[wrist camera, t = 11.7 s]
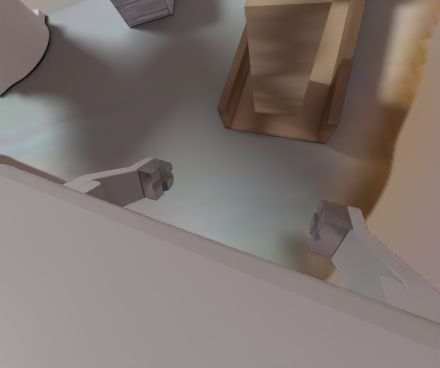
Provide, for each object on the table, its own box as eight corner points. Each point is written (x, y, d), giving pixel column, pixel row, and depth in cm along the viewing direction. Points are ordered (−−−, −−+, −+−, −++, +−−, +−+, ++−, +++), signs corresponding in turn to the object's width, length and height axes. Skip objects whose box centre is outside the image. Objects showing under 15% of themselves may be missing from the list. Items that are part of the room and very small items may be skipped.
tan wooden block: (254, 112, 20) (244, 6, 10) (265, 76, 20) (264, -53, 11) (298, 117, 18) (332, 1, 9) (307, 79, 19) (348, -65, 10)
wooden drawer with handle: (225, 127, 21) (205, 80, 14) (268, -7, 23) (269, -98, 17) (324, 143, 18) (360, 93, 11) (360, -13, 20) (405, -127, 14)
